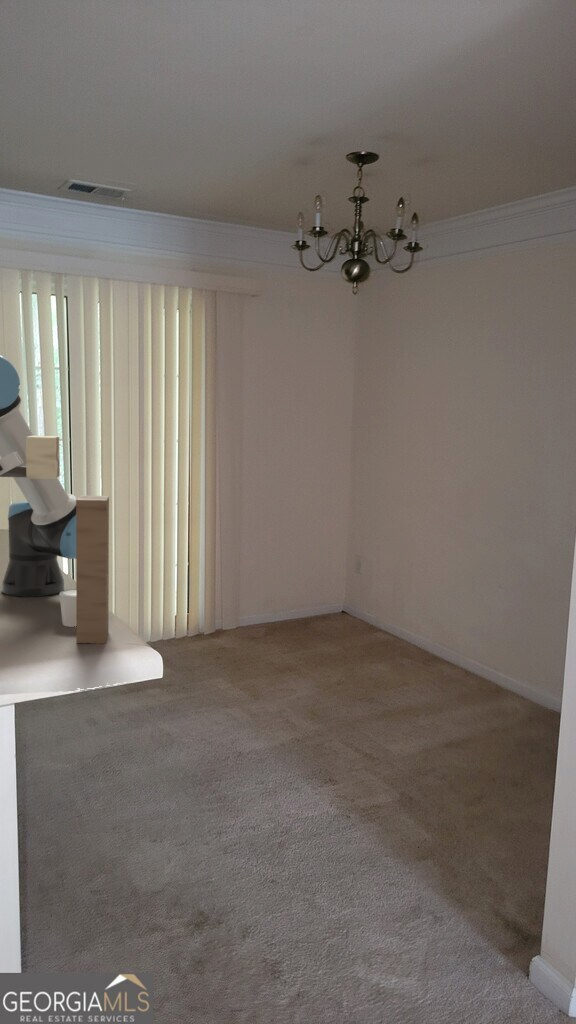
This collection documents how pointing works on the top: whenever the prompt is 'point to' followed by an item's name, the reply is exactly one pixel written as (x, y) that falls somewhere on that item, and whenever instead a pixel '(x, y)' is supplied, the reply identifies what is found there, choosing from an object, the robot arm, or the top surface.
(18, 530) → the robot arm
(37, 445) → the beige wooden block
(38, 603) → the top surface
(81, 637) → the brown wooden tall block
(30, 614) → the top surface
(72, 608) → the white cup
